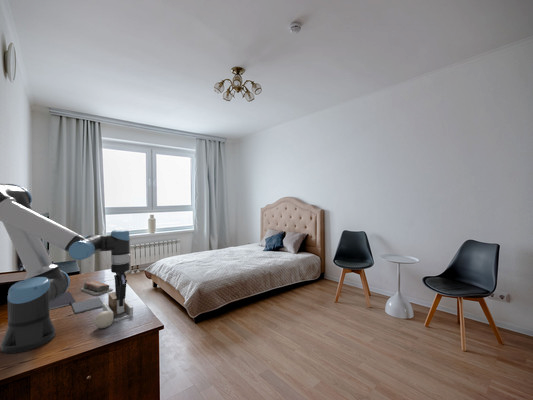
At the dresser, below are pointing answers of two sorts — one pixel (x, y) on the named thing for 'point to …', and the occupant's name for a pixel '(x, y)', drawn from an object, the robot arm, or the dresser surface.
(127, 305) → the rack
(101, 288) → the packaged product
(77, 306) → the felt pad
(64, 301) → the notebook
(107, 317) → the cream piece
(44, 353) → the dresser surface
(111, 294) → the panel
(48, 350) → the dresser surface
